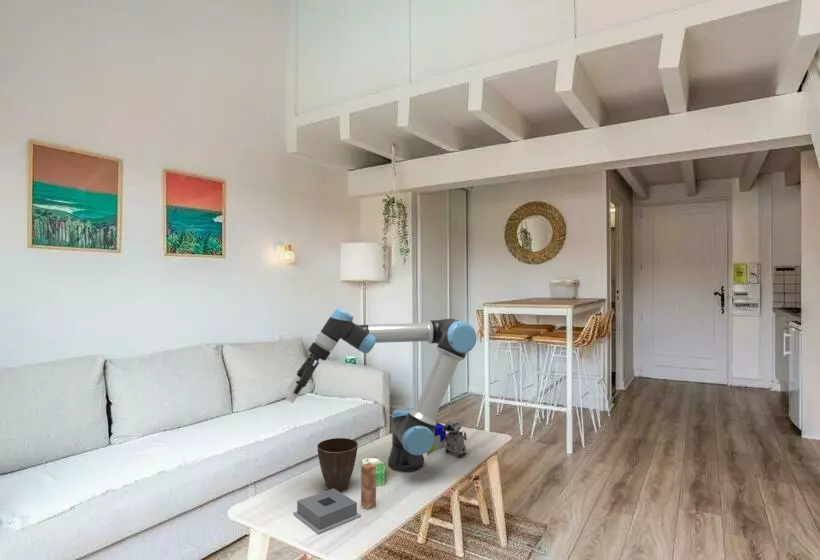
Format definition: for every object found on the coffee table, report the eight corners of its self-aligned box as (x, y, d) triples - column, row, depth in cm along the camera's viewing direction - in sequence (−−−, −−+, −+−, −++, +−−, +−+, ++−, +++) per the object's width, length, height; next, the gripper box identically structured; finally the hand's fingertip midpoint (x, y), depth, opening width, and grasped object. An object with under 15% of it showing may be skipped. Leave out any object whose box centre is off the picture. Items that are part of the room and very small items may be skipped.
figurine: (436, 456, 208) (436, 421, 208) (453, 449, 216) (453, 416, 216) (452, 462, 202) (452, 426, 201) (469, 454, 210) (469, 420, 209)
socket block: (334, 499, 168) (334, 486, 168) (361, 516, 156) (361, 502, 156) (293, 514, 157) (293, 500, 157) (318, 534, 146) (318, 519, 145)
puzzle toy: (445, 447, 218) (446, 426, 218) (428, 452, 212) (428, 430, 212) (432, 441, 226) (432, 420, 226) (415, 445, 220) (415, 424, 220)
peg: (369, 502, 166) (369, 462, 166) (375, 506, 163) (376, 465, 163) (361, 506, 163) (361, 465, 163) (367, 510, 161) (367, 468, 160)
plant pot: (335, 475, 188) (335, 435, 187) (365, 484, 180) (365, 442, 180) (308, 490, 175) (308, 447, 174) (340, 500, 167) (340, 455, 167)
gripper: (312, 336, 187) (281, 383, 184) (315, 346, 163) (280, 399, 160) (328, 347, 189) (297, 393, 186) (334, 357, 165) (299, 410, 162)
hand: (289, 396), depth 173 cm, fingers open, 13 cm apart
